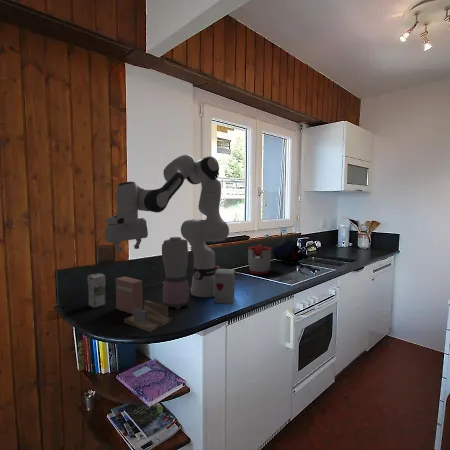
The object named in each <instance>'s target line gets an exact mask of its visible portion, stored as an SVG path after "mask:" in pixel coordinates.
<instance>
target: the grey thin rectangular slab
mask: <svg viewBox="0 0 450 450" xmlns="http://www.w3.org/2000/svg"><path fill="white" fill-rule="evenodd" d="M132 316H133V320H134V321H137V322H139V323H142V324H145V325H146V324H148V318H147V311H145V310H144V309H143V310H142V309H139V308H136V307H135V308H133V314H132Z"/></svg>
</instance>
